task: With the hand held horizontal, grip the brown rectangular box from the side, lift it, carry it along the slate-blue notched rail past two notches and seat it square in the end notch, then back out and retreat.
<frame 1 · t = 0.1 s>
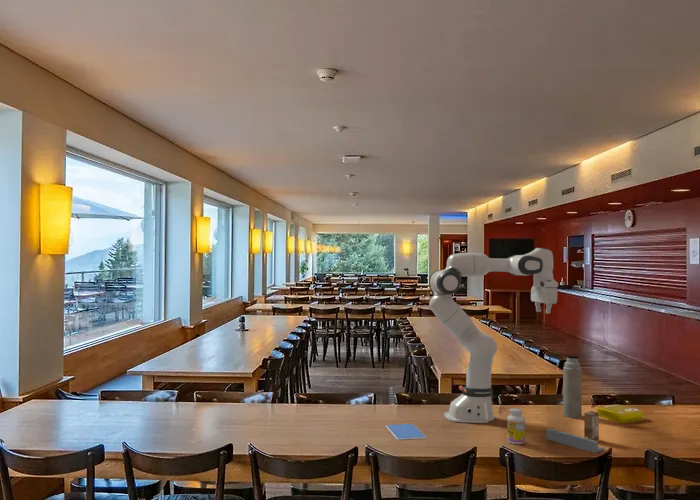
hand: (543, 312, 263), 48 cm above the table, tool pointing down, fingers open, 8 cm apart
brown rectangular box: (591, 440, 227), on the table
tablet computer: (405, 434, 235), on the table
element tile: (619, 419, 262), on the table
rail: (577, 443, 223), on the table
thermos bottle: (572, 416, 263), on the table
supplement bottle: (516, 442, 223), on the table
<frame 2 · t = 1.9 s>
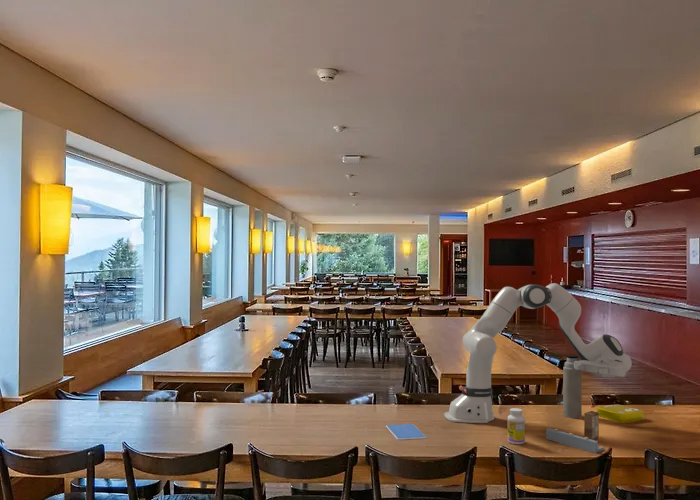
hand: (588, 369, 239), 26 cm above the table, tool horizontal, fingers open, 8 cm apart
nothing on the table moved.
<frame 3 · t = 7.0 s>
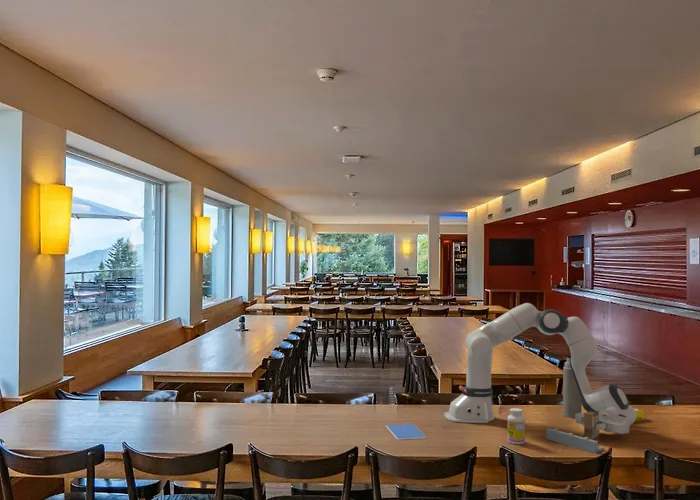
hand: (590, 425, 226), 6 cm above the table, tool horizontal, fingers closed on brown rectangular box, 3 cm apart
brown rectangular box: (591, 440, 227), on the table, touching gripper
everything else where it was.
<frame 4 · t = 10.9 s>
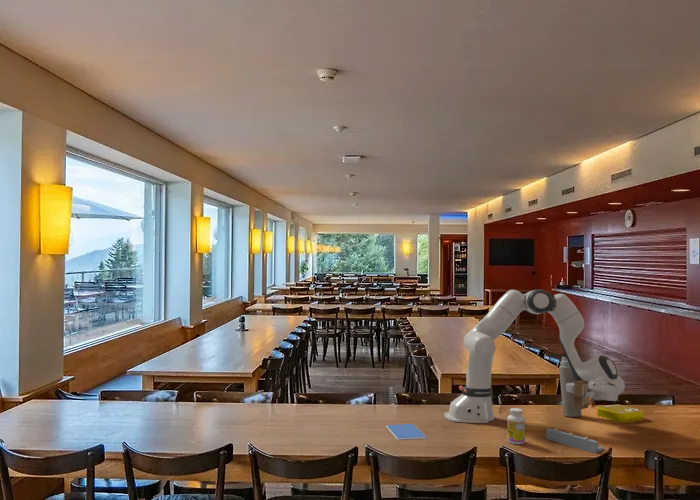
hand: (580, 393, 236), 17 cm above the table, tool horizontal, fingers closed on brown rectangular box, 3 cm apart
brown rectangular box: (581, 407, 236), point 11 cm above the table, touching gripper
thermos bottle: (572, 415, 263), on the table, touching arm
everything else where it was.
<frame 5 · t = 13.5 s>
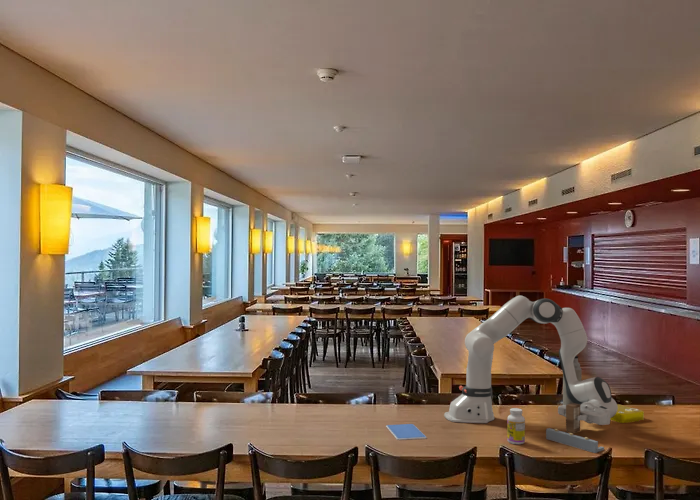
hand: (571, 417, 232), 8 cm above the table, tool horizontal, fingers closed on brown rectangular box, 3 cm apart
brown rectangular box: (573, 431, 233), point 2 cm above the table, touching gripper
thermos bottle: (572, 416, 263), on the table
everything else where it was.
when the fingers open (8 cm above the table, at t = 15.1 s): brown rectangular box drops 2 cm, on the table.
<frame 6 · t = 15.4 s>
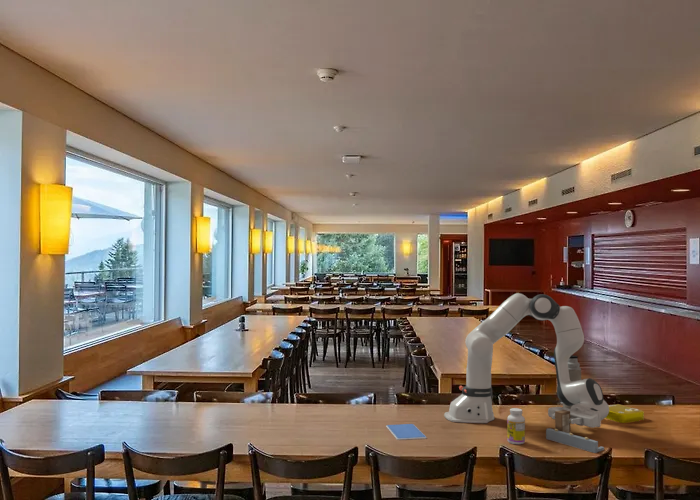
hand: (561, 419, 228), 8 cm above the table, tool horizontal, fingers open, 6 cm apart
brown rectangular box: (562, 438, 228), on the table
everything else where it was.
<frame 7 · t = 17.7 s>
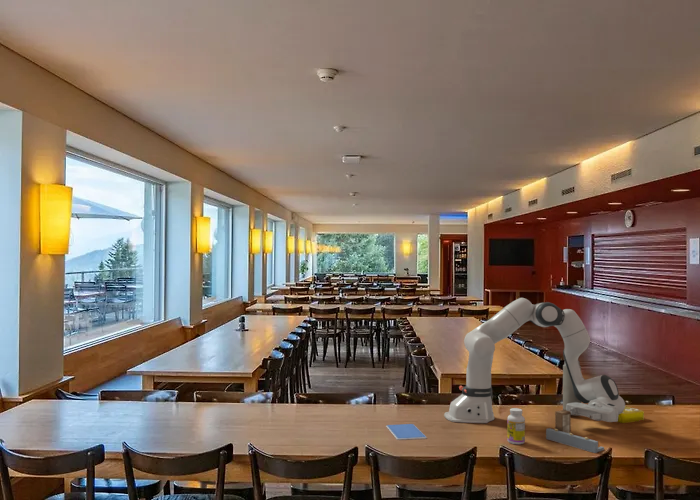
hand: (580, 414, 235), 8 cm above the table, tool horizontal, fingers open, 8 cm apart
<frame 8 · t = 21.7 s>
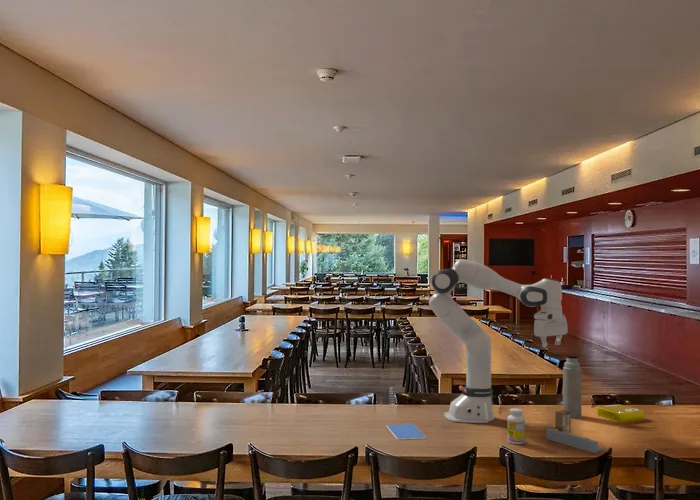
hand: (551, 345, 253), 34 cm above the table, tool pointing down, fingers open, 8 cm apart
at the end: brown rectangular box 0.1 cm from the target spot on the rail, point 0.0 cm above the rail's base; brown rectangular box tilted 0°; the gripper is holding nothing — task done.
